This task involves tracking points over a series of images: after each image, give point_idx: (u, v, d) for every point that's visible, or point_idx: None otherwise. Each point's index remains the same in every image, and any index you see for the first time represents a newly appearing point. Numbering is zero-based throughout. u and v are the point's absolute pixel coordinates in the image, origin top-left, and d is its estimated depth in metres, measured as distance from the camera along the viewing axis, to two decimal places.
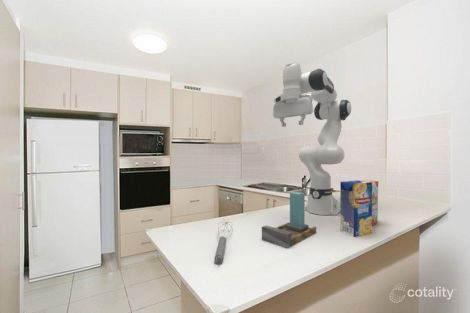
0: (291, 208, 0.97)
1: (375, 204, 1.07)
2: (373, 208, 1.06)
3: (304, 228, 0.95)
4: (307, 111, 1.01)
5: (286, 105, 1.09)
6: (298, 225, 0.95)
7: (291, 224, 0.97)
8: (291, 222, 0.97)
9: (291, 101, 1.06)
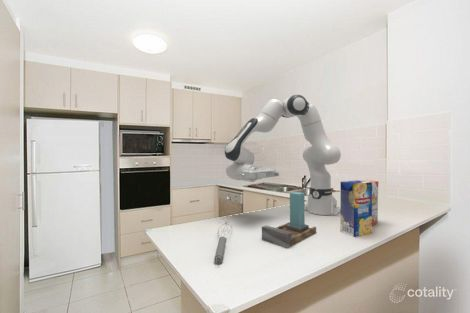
0: (291, 208, 0.97)
1: (375, 204, 1.07)
2: (373, 208, 1.06)
3: (304, 228, 0.95)
4: (251, 179, 1.04)
5: None
6: (298, 225, 0.95)
7: (291, 224, 0.97)
8: (291, 222, 0.97)
9: (252, 179, 1.13)
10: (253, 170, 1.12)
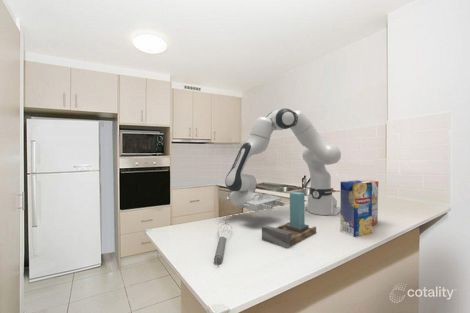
0: (291, 208, 0.97)
1: (375, 204, 1.07)
2: (373, 208, 1.06)
3: (304, 228, 0.95)
4: None
5: None
6: (298, 225, 0.95)
7: (291, 224, 0.97)
8: (291, 222, 0.97)
9: None
10: (258, 199, 1.10)
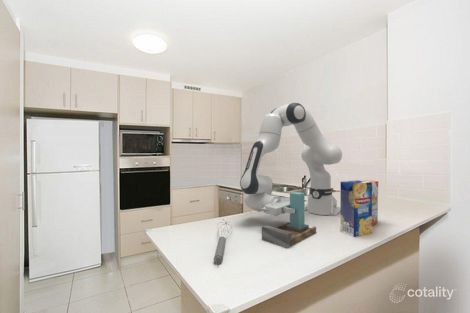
0: None
1: (375, 204, 1.07)
2: (373, 208, 1.06)
3: (304, 228, 0.95)
4: (276, 215, 0.94)
5: None
6: (298, 225, 0.95)
7: (291, 224, 0.97)
8: (291, 222, 0.97)
9: None
10: (276, 203, 1.03)
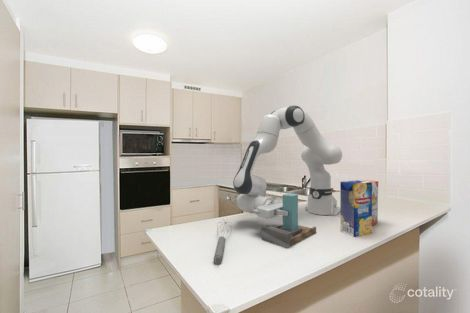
0: (284, 210, 0.93)
1: (375, 204, 1.07)
2: (373, 208, 1.06)
3: (297, 231, 0.91)
4: None
5: None
6: (291, 228, 0.91)
7: (284, 227, 0.93)
8: (284, 225, 0.93)
9: None
10: (269, 205, 0.99)
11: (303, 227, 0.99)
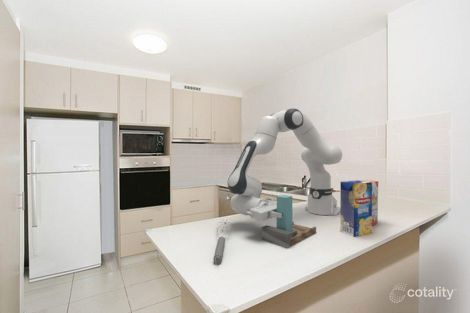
0: (278, 212, 0.90)
1: (375, 204, 1.07)
2: (373, 208, 1.06)
3: (292, 234, 0.88)
4: (261, 220, 0.87)
5: None
6: None
7: None
8: (278, 227, 0.90)
9: None
10: (263, 206, 0.96)
11: (303, 227, 0.99)
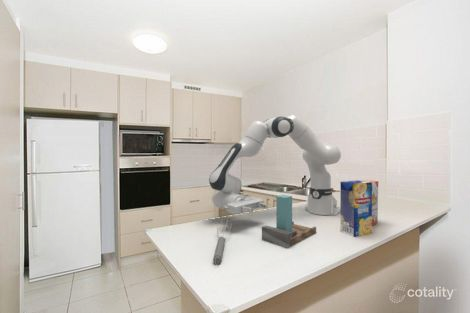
0: (278, 212, 0.90)
1: (375, 204, 1.07)
2: (373, 208, 1.06)
3: None
4: (236, 213, 0.97)
5: None
6: None
7: None
8: (278, 227, 0.90)
9: None
10: (239, 201, 1.05)
11: (303, 227, 0.99)
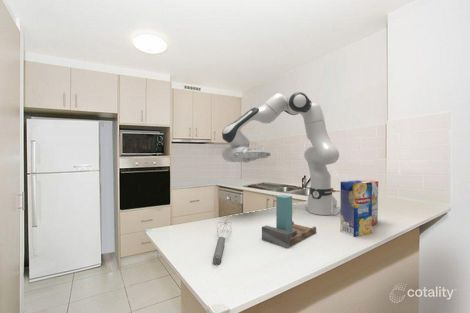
0: (278, 212, 0.90)
1: (375, 204, 1.07)
2: (373, 208, 1.06)
3: None
4: (244, 158, 1.13)
5: (252, 157, 1.24)
6: None
7: None
8: (278, 227, 0.90)
9: (246, 159, 1.22)
10: (246, 151, 1.21)
11: (303, 227, 0.99)
